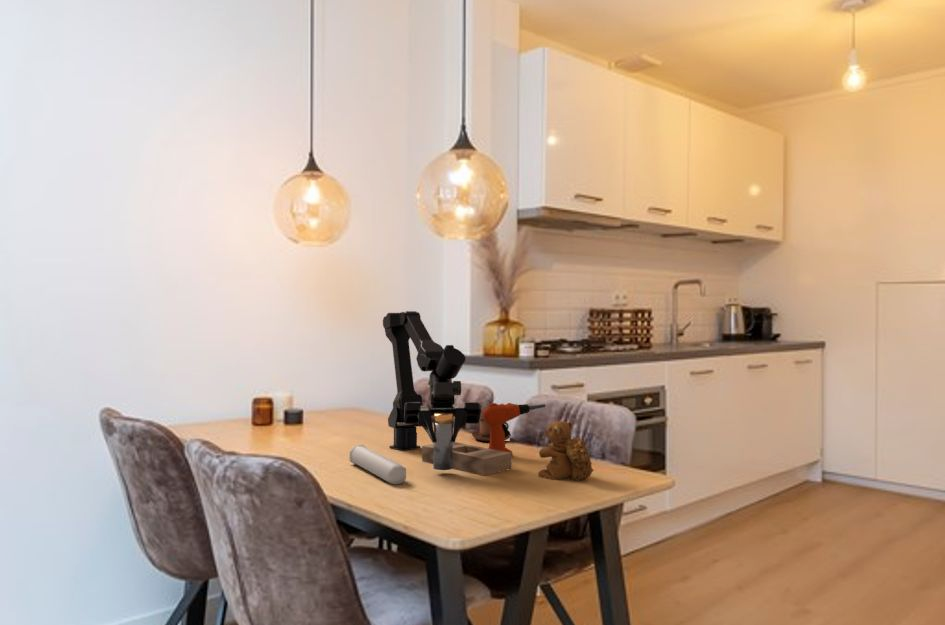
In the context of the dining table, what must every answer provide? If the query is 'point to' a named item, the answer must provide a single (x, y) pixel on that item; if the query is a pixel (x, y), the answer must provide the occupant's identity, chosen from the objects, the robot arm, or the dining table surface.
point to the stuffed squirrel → (565, 454)
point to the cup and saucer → (485, 432)
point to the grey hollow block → (473, 458)
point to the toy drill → (503, 421)
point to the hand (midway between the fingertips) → (443, 441)
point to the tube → (378, 464)
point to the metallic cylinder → (443, 441)
